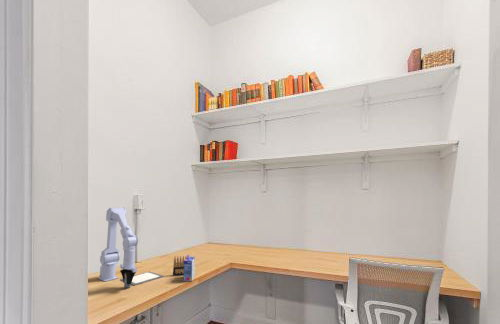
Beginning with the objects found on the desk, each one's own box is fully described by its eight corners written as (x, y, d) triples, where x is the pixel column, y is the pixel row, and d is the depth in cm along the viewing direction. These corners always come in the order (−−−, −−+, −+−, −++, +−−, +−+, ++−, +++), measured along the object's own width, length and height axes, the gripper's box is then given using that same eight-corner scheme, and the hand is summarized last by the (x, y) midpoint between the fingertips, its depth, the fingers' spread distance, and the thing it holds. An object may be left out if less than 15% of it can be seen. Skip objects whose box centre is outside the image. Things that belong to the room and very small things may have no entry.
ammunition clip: (189, 274, 164) (190, 255, 165) (189, 274, 162) (190, 255, 163) (173, 274, 162) (173, 255, 163) (172, 275, 160) (173, 256, 162)
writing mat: (119, 280, 151) (119, 279, 151) (149, 272, 167) (149, 271, 167) (133, 285, 142) (133, 284, 142) (163, 276, 158) (163, 275, 158)
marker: (122, 288, 138) (123, 273, 139) (128, 286, 141) (129, 271, 142) (125, 289, 137) (126, 274, 138) (131, 287, 139) (132, 272, 140)
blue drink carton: (186, 276, 159) (187, 252, 161) (195, 276, 159) (195, 252, 161) (182, 281, 149) (183, 256, 151) (191, 281, 150) (192, 256, 152)
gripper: (115, 257, 142) (113, 282, 140) (128, 261, 133) (127, 288, 132) (127, 255, 148) (126, 279, 146) (141, 259, 139) (139, 284, 137)
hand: (127, 283), depth 139 cm, fingers closed on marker, 3 cm apart
